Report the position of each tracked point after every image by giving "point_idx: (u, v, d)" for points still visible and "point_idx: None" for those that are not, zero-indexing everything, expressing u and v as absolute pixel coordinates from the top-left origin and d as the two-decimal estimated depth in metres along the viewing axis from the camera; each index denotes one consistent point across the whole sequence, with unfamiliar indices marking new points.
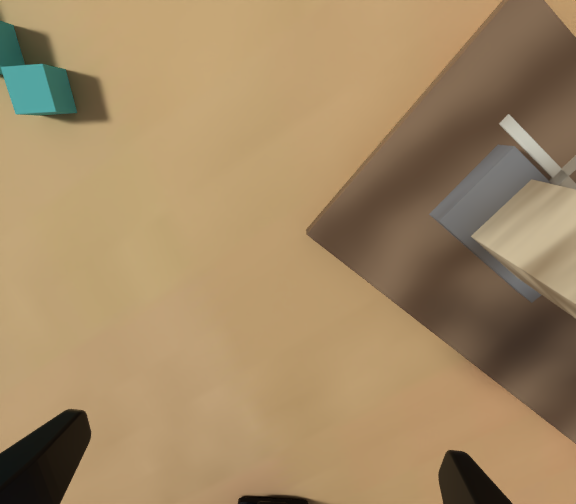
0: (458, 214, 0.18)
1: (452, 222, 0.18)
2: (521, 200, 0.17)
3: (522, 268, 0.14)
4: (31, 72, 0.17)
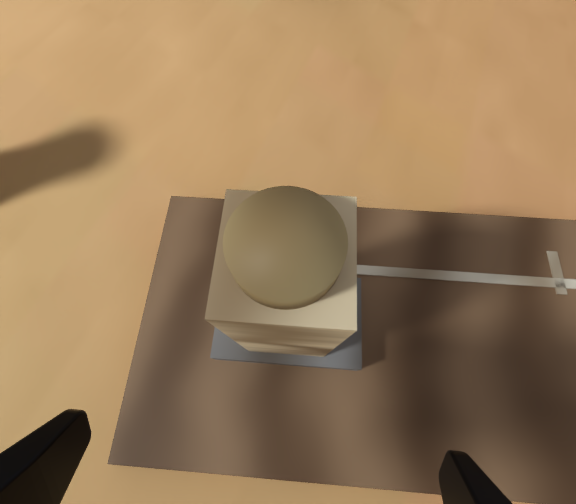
0: (222, 340, 0.18)
1: (222, 350, 0.17)
2: None
3: (235, 340, 0.13)
4: None
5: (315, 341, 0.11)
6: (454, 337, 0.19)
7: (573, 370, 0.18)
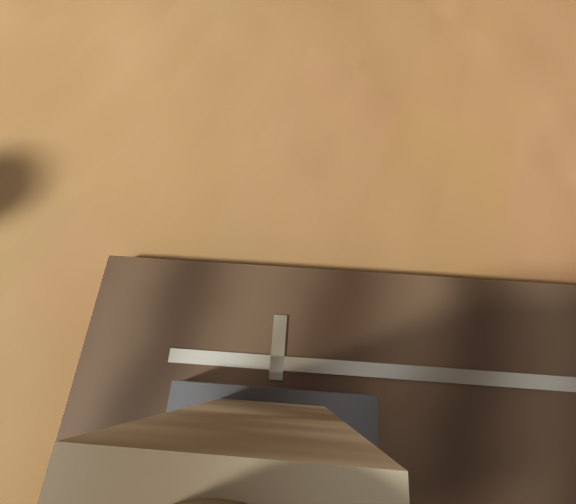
0: None
1: None
2: None
3: None
4: None
5: None
6: (516, 481, 0.13)
7: None
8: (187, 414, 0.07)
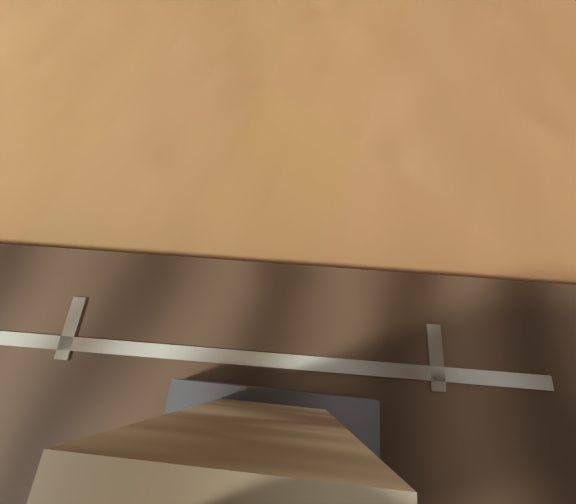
0: None
1: None
2: None
3: None
4: None
5: None
6: None
7: None
8: (185, 417, 0.07)
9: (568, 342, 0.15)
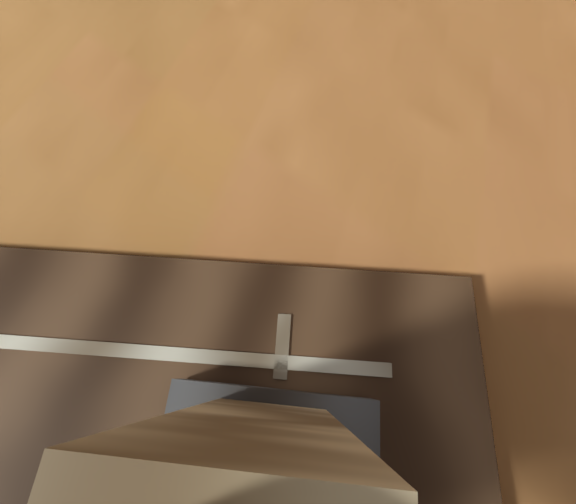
0: None
1: None
2: None
3: None
4: None
5: None
6: None
7: None
8: (185, 417, 0.07)
9: (414, 330, 0.15)
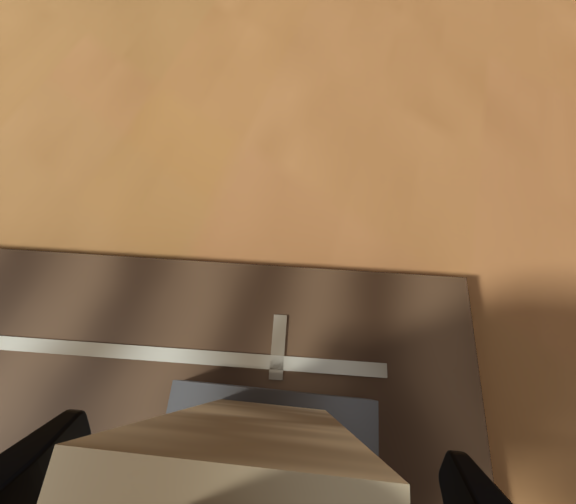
0: None
1: None
2: None
3: None
4: None
5: None
6: None
7: None
8: (187, 416, 0.07)
9: (410, 331, 0.15)
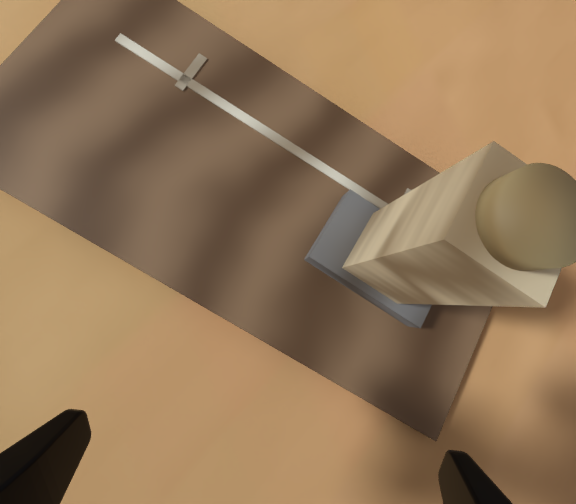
0: (324, 248, 0.19)
1: (321, 256, 0.19)
2: (369, 226, 0.19)
3: (374, 258, 0.15)
4: None
5: (458, 294, 0.13)
6: (285, 208, 0.21)
7: None
8: None
9: None
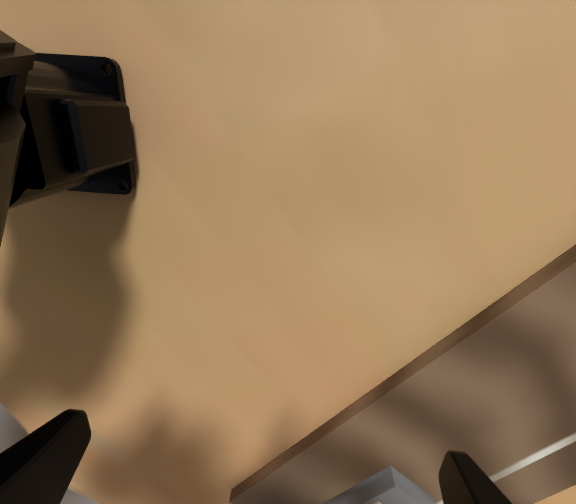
0: (397, 495, 0.23)
1: (392, 493, 0.23)
2: None
3: None
4: None
5: None
6: (438, 464, 0.24)
7: None
8: None
9: None
